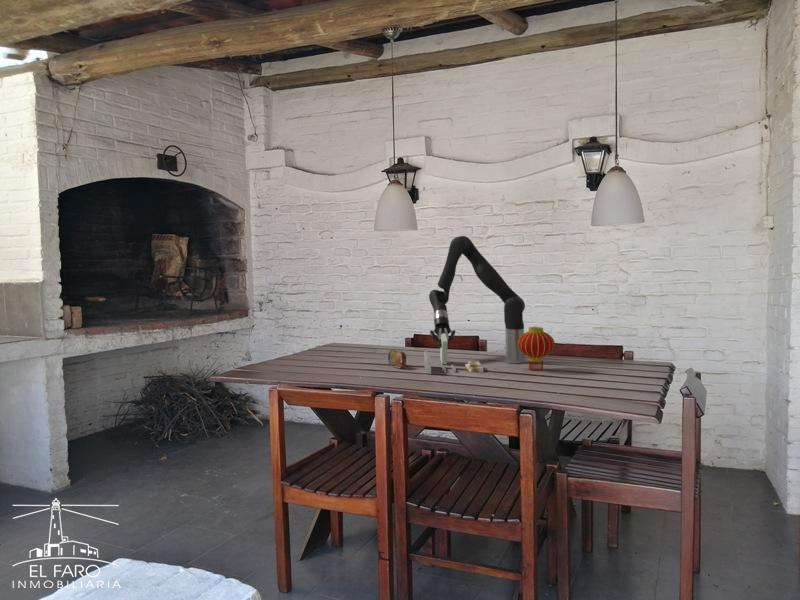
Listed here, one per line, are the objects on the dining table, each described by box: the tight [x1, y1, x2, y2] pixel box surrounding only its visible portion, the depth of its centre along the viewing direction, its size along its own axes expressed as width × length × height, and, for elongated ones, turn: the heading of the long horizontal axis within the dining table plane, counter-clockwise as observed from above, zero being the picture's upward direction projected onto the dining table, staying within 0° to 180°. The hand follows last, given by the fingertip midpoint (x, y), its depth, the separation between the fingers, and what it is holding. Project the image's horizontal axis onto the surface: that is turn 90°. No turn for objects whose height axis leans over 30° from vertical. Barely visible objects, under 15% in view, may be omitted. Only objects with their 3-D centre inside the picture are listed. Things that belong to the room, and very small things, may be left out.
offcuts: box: [465, 360, 484, 373], centre depth 291 cm, size 6×14×4 cm, turn 3°
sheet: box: [439, 333, 448, 365], centre depth 308 cm, size 2×10×13 cm, turn 2°
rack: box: [423, 350, 457, 375], centre depth 290 cm, size 14×18×8 cm
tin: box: [387, 349, 407, 369], centre depth 301 cm, size 15×3×8 cm, turn 28°
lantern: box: [517, 326, 556, 372], centre depth 286 cm, size 17×17×30 cm
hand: (444, 346), depth 306 cm, fingers closed on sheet, 2 cm apart
